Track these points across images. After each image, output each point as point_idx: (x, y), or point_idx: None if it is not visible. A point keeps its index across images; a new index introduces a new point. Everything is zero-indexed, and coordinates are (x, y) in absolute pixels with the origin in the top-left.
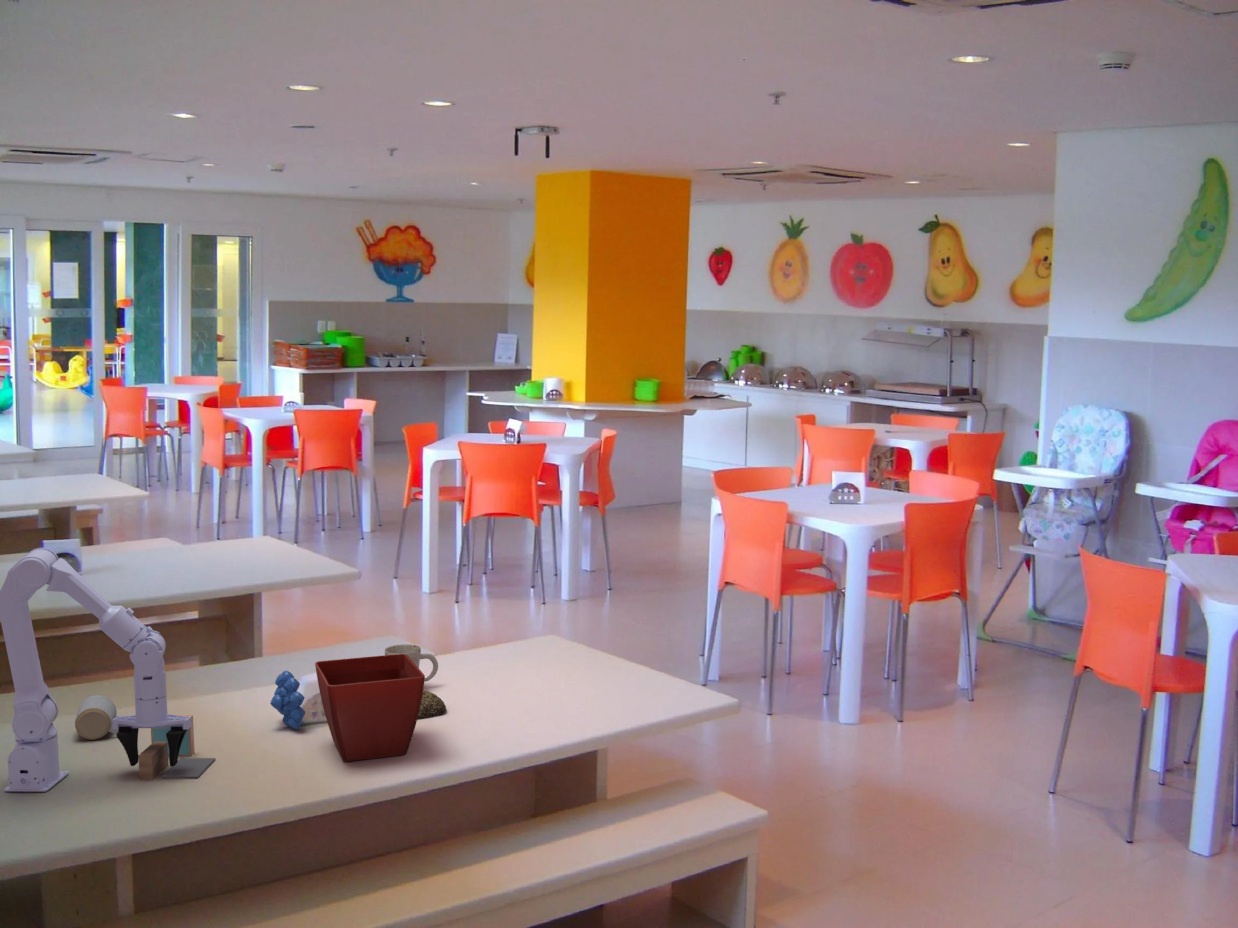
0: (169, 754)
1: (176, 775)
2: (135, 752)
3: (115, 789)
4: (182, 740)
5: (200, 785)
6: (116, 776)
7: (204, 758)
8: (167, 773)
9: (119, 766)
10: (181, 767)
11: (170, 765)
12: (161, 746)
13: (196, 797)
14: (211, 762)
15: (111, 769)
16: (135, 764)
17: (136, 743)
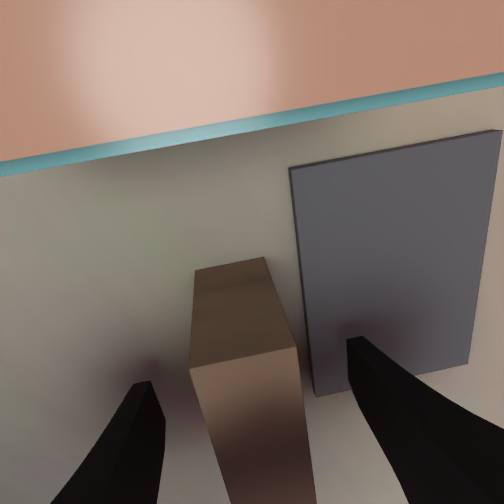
0: (382, 448)
1: None
2: (142, 456)
3: (200, 496)
4: (475, 415)
5: (486, 402)
6: (107, 419)
7: (439, 148)
8: (328, 368)
9: (11, 327)
10: (361, 297)
11: (351, 383)
12: (306, 430)
13: None
14: (489, 195)
15: (7, 366)
16: (160, 407)
17: (118, 491)
